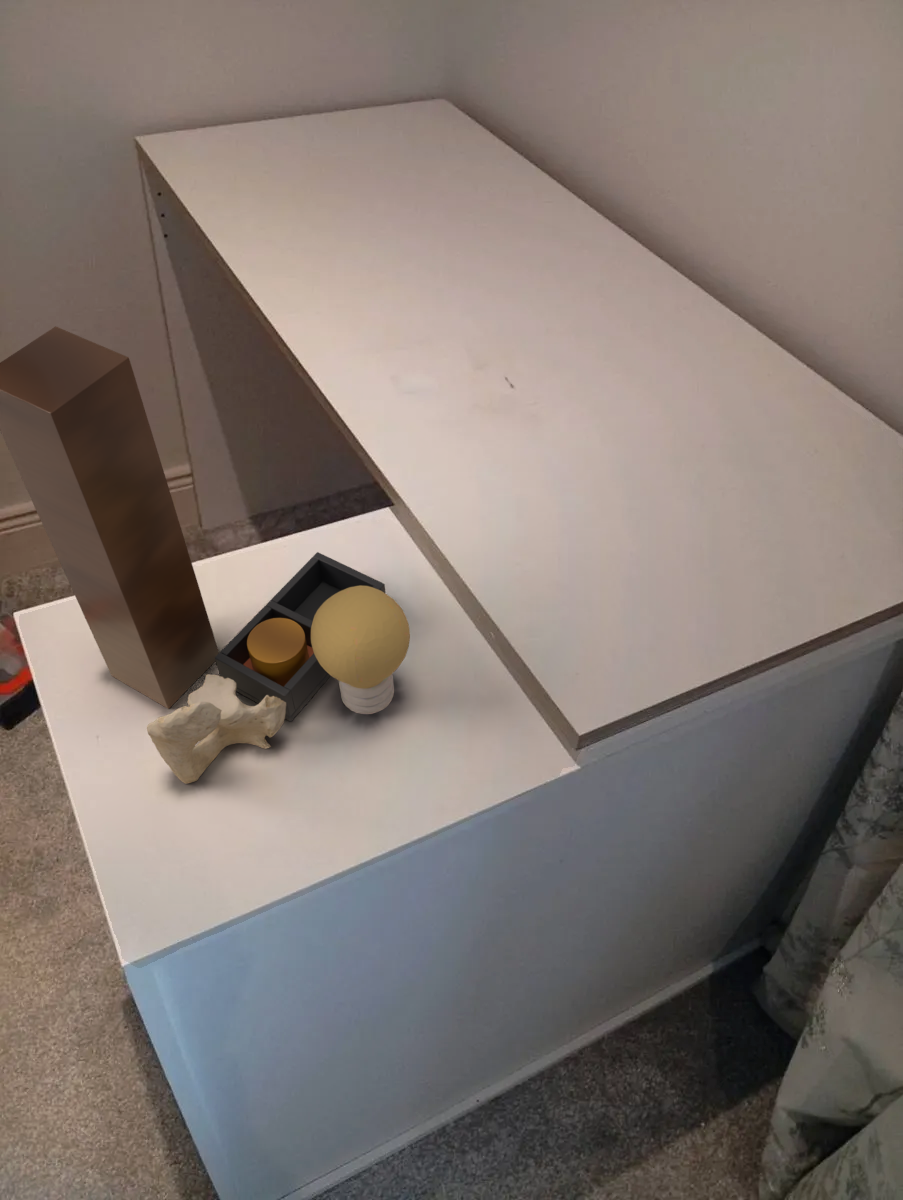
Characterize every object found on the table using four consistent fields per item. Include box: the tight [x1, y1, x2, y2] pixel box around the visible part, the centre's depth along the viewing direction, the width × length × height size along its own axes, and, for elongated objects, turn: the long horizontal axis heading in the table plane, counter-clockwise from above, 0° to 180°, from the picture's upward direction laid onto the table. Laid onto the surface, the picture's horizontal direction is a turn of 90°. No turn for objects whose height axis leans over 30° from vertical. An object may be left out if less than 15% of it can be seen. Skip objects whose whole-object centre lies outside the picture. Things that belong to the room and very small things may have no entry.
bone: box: [146, 673, 286, 785], centre depth 63 cm, size 9×6×10 cm
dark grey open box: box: [215, 551, 386, 722], centre depth 71 cm, size 12×6×3 cm, turn 148°
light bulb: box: [311, 586, 411, 715], centre depth 65 cm, size 6×6×10 cm
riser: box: [0, 326, 220, 710], centre depth 61 cm, size 6×6×26 cm
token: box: [247, 618, 309, 687], centre depth 69 cm, size 4×4×3 cm
